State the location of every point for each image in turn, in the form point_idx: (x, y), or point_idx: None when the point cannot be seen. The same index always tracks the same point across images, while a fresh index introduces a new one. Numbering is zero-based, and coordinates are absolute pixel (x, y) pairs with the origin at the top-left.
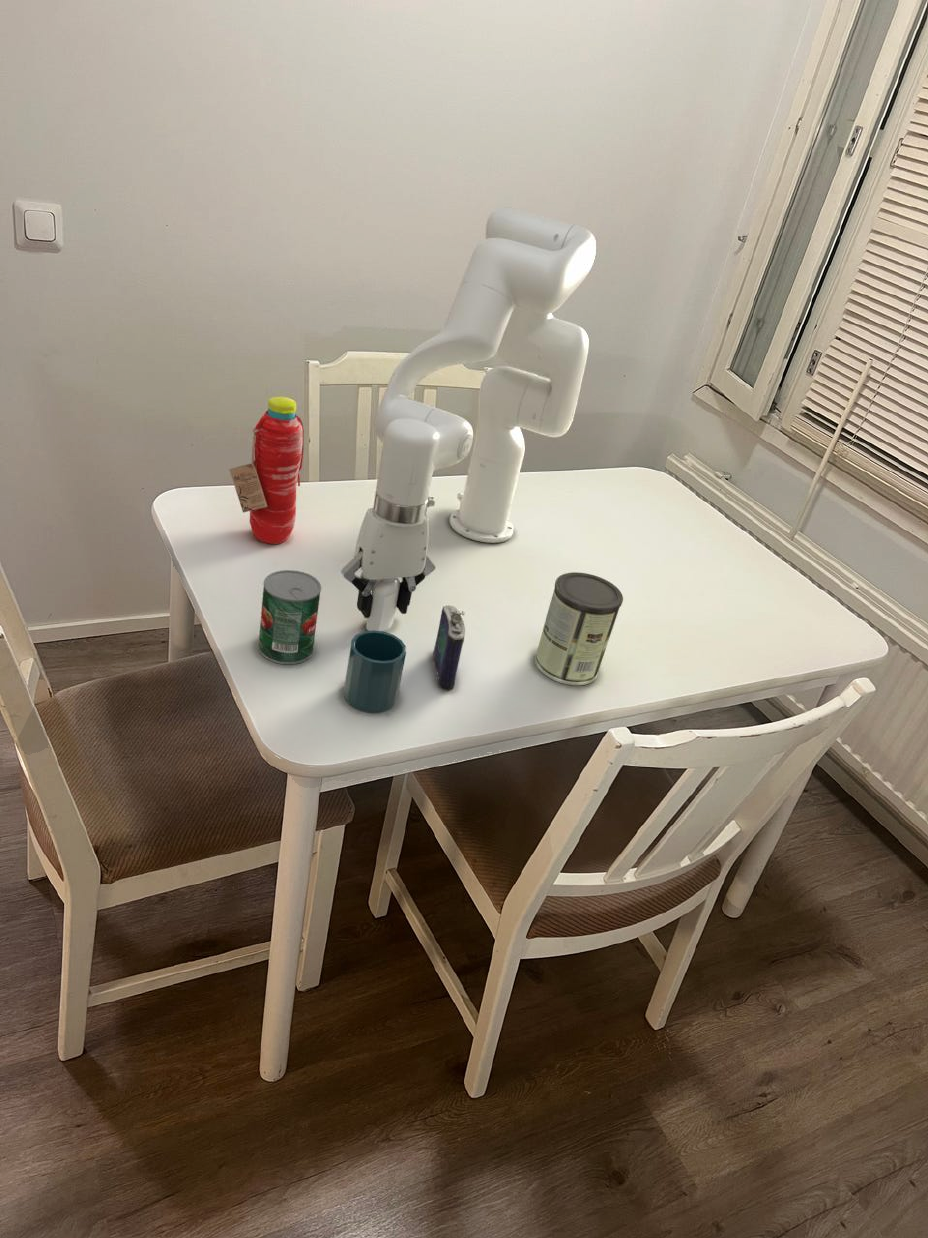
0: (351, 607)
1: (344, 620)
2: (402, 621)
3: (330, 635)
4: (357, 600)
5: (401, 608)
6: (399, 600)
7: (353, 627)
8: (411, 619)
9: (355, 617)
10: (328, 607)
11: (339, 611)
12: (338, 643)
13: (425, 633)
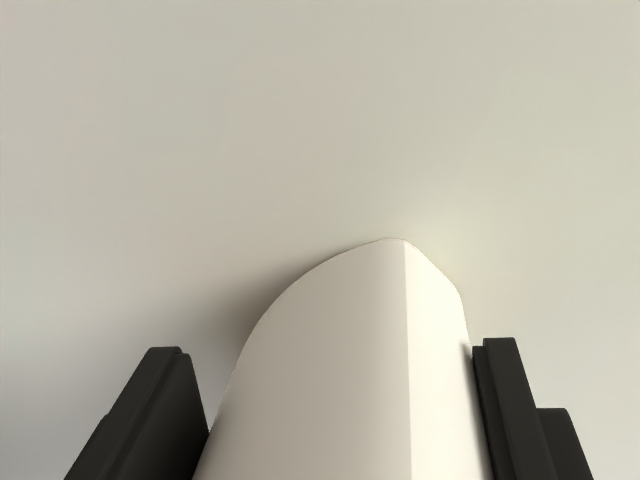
0: (195, 94)
1: (124, 244)
2: (523, 302)
3: (32, 366)
4: (87, 446)
5: None
6: None
7: (172, 318)
8: (603, 289)
9: (203, 221)
10: (24, 79)
11: (100, 139)
12: (71, 430)
13: (615, 431)
